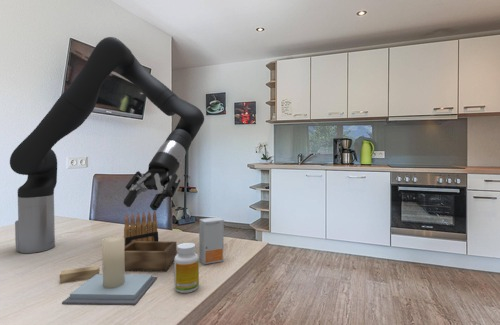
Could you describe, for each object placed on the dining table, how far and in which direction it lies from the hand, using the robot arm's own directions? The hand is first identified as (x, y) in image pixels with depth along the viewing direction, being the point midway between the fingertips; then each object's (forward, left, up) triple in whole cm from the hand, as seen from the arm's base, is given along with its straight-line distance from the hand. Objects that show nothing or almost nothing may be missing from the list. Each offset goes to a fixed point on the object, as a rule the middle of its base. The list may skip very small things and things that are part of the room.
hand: (139, 206), depth 70 cm
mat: (-2, -9, -17) cm, 19 cm away
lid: (-2, -9, -17) cm, 19 cm away
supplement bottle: (+14, -7, -17) cm, 23 cm away
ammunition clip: (-7, +18, -17) cm, 26 cm away
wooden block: (-13, -3, -17) cm, 22 cm away
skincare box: (+17, +9, -17) cm, 26 cm away
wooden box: (0, +6, -17) cm, 18 cm away
